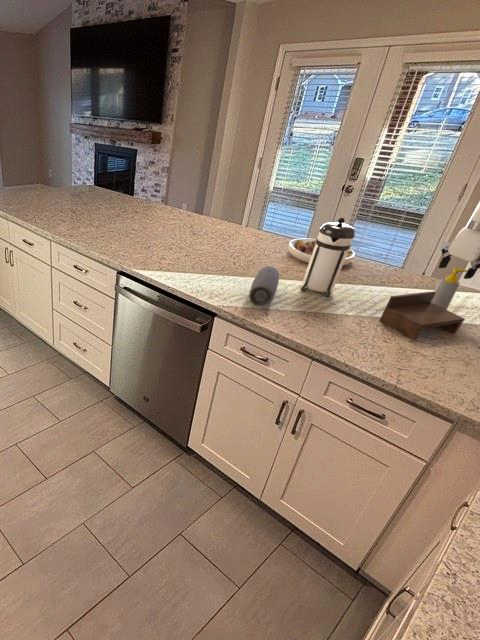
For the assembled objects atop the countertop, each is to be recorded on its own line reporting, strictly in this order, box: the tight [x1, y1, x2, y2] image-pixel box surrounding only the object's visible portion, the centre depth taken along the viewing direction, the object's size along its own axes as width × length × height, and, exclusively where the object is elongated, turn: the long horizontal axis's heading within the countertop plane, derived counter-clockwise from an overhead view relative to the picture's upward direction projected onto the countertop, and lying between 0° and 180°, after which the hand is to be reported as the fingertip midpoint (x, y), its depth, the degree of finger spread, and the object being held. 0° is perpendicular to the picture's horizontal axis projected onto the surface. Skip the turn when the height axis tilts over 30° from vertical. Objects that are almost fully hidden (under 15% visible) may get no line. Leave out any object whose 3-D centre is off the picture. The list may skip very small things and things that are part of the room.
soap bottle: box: [431, 266, 468, 310], centre depth 155 cm, size 7×7×18 cm
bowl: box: [287, 238, 356, 266], centre depth 205 cm, size 30×30×8 cm
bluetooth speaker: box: [248, 266, 280, 308], centre depth 162 cm, size 23×9×10 cm, turn 154°
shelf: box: [379, 290, 465, 341], centre depth 147 cm, size 14×20×10 cm
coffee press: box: [299, 217, 356, 298], centre depth 166 cm, size 17×16×30 cm
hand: (454, 272), depth 152 cm, fingers open, 9 cm apart
